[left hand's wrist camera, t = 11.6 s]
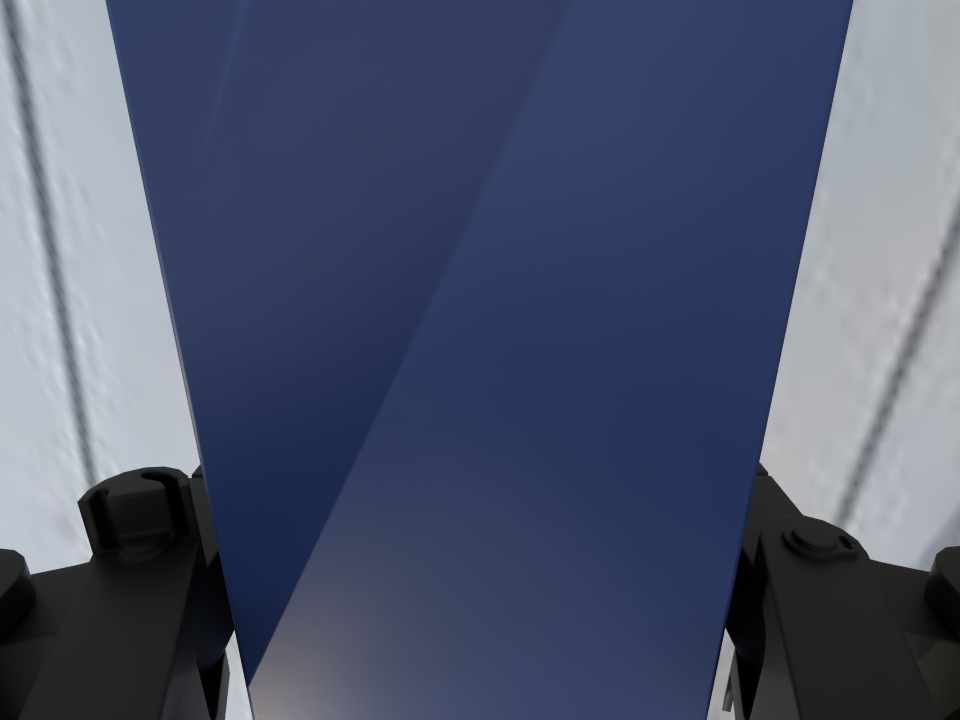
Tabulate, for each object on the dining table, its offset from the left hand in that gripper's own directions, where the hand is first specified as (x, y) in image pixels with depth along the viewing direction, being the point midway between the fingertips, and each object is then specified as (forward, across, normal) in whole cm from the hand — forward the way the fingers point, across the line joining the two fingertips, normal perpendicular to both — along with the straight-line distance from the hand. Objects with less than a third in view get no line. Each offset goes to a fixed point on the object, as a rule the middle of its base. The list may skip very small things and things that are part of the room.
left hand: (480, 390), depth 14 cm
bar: (+1, 0, -12) cm, 12 cm away
